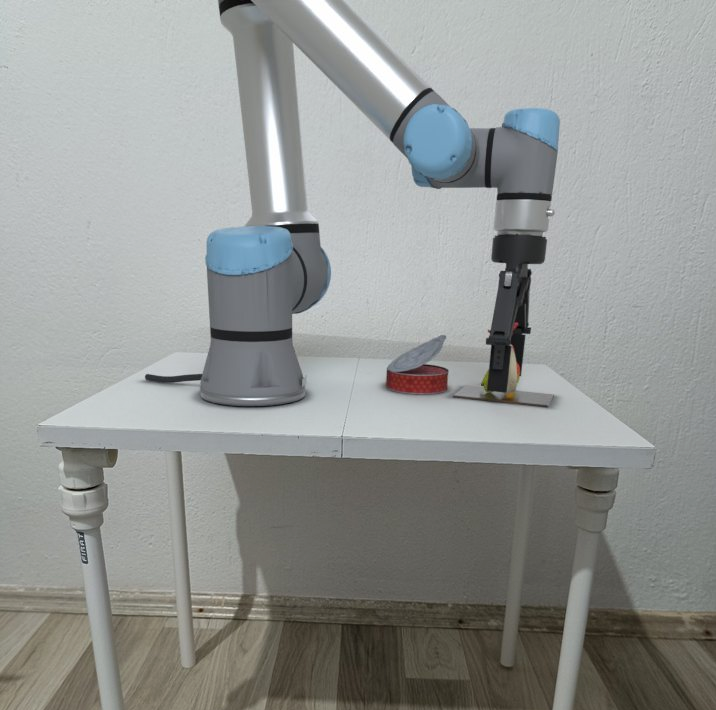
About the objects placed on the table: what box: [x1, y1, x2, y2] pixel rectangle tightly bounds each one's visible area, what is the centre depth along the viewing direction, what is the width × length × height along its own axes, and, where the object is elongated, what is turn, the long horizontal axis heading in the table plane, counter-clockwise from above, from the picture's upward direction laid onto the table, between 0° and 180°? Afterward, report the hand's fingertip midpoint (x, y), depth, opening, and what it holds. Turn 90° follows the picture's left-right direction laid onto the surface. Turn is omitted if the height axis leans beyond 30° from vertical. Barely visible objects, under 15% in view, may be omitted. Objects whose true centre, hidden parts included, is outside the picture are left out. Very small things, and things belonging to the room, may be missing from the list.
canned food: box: [385, 334, 450, 395], centre depth 105 cm, size 11×10×10 cm
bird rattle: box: [480, 322, 520, 399], centre depth 99 cm, size 6×11×9 cm
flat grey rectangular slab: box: [452, 385, 555, 408], centre depth 101 cm, size 14×8×1 cm, turn 68°
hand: (504, 383), depth 101 cm, fingers open, 13 cm apart
